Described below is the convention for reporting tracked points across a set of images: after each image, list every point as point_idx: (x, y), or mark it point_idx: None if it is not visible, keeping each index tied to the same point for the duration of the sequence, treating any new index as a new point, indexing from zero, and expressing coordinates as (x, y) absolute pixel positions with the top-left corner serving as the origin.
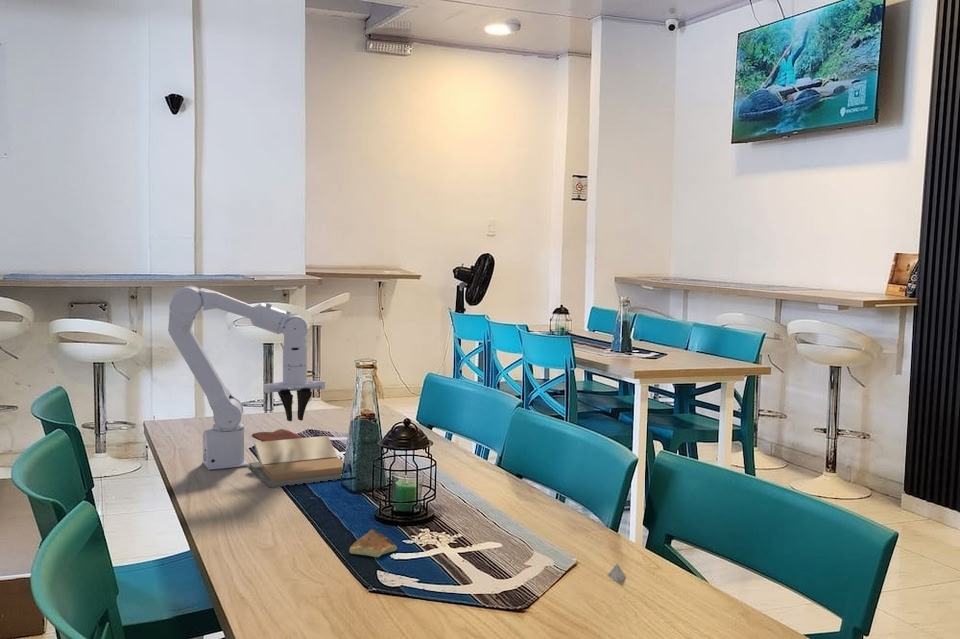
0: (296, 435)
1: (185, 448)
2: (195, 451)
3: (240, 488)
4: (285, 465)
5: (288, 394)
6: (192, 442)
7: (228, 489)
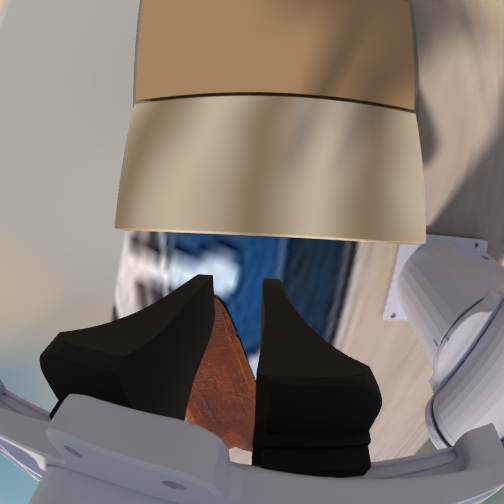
0: (192, 414)
1: (419, 411)
2: (420, 393)
3: (468, 41)
4: (344, 67)
5: (309, 403)
6: (387, 436)
7: (489, 54)
